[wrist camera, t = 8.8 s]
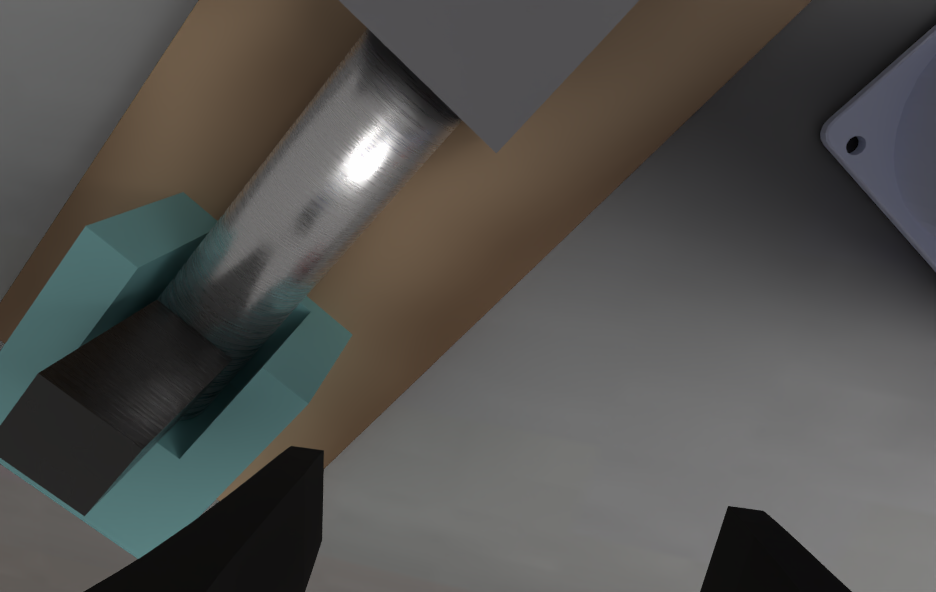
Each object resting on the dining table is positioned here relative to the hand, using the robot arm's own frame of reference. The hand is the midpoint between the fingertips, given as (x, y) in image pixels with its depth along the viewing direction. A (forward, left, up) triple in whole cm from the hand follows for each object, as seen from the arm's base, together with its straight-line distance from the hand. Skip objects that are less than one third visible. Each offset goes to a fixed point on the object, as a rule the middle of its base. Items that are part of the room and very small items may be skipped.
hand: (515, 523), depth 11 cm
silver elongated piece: (+7, +1, -8) cm, 11 cm away
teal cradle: (+7, +8, -9) cm, 14 cm away
